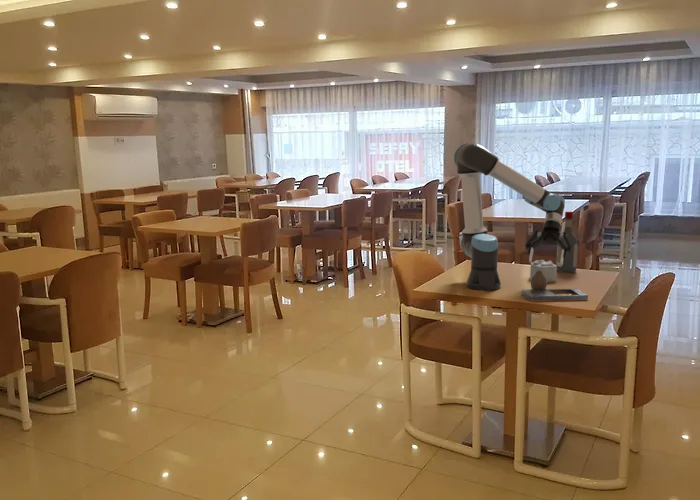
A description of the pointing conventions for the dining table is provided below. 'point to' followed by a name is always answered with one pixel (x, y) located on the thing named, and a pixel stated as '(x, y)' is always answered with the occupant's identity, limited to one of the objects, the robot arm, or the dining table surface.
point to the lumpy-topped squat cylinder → (544, 269)
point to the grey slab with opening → (554, 294)
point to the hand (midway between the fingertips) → (545, 262)
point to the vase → (538, 281)
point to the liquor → (571, 257)
